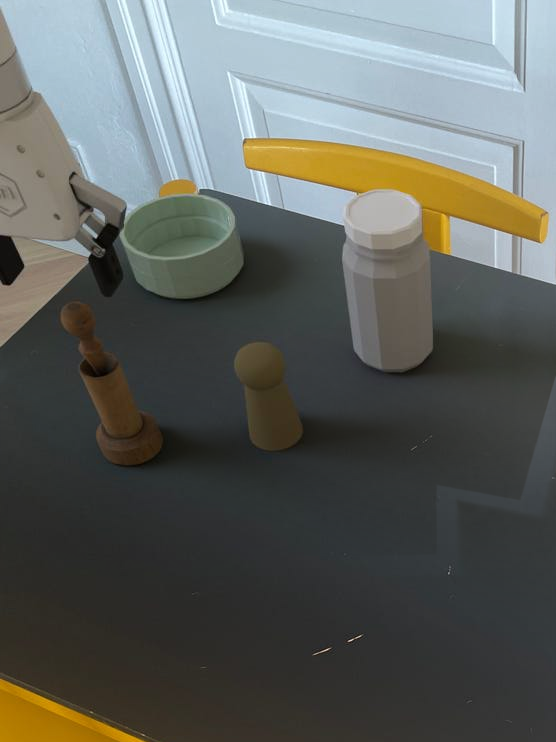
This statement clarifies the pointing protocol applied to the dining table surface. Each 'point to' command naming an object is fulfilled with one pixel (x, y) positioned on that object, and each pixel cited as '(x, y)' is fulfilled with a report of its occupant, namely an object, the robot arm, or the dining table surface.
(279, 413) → the board game pawn
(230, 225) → the bowl
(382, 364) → the jar
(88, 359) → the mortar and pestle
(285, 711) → the dining table surface
